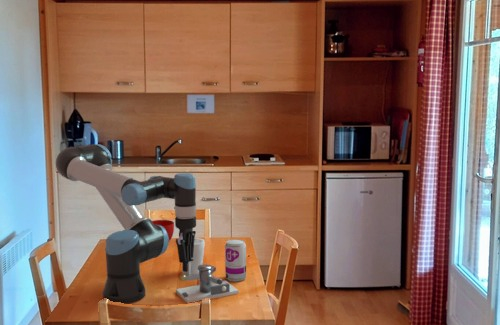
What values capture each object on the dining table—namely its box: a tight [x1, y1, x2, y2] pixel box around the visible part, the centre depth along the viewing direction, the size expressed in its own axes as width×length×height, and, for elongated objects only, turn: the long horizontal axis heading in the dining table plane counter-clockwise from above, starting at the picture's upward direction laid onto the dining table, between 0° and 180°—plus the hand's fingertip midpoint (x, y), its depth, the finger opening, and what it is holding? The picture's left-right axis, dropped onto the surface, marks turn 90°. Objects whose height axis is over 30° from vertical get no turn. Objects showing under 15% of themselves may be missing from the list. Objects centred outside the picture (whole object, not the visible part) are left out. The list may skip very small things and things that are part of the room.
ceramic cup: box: [151, 219, 175, 243], centre depth 271 cm, size 13×17×10 cm
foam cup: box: [190, 237, 206, 274], centre depth 231 cm, size 10×9×13 cm
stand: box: [175, 280, 240, 304], centre depth 209 cm, size 20×13×4 cm, turn 117°
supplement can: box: [224, 238, 247, 282], centre depth 223 cm, size 8×8×15 cm
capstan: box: [179, 263, 224, 293], centre depth 207 cm, size 16×14×9 cm
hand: (186, 278), depth 208 cm, fingers closed
